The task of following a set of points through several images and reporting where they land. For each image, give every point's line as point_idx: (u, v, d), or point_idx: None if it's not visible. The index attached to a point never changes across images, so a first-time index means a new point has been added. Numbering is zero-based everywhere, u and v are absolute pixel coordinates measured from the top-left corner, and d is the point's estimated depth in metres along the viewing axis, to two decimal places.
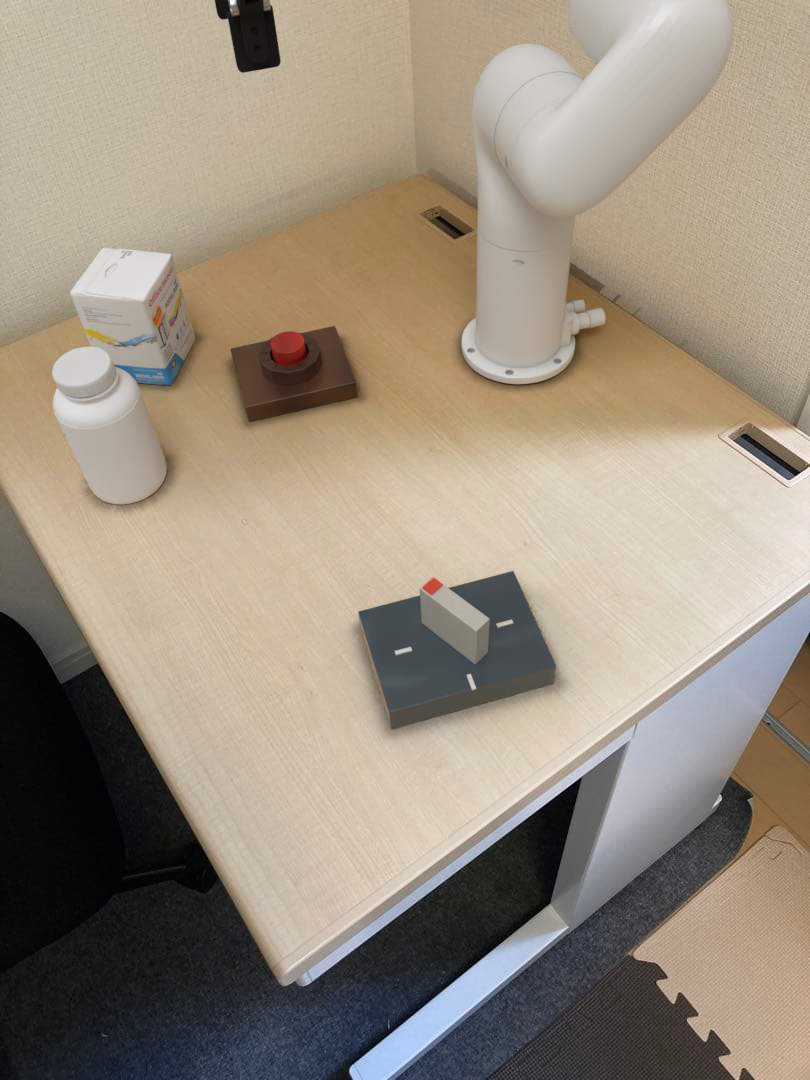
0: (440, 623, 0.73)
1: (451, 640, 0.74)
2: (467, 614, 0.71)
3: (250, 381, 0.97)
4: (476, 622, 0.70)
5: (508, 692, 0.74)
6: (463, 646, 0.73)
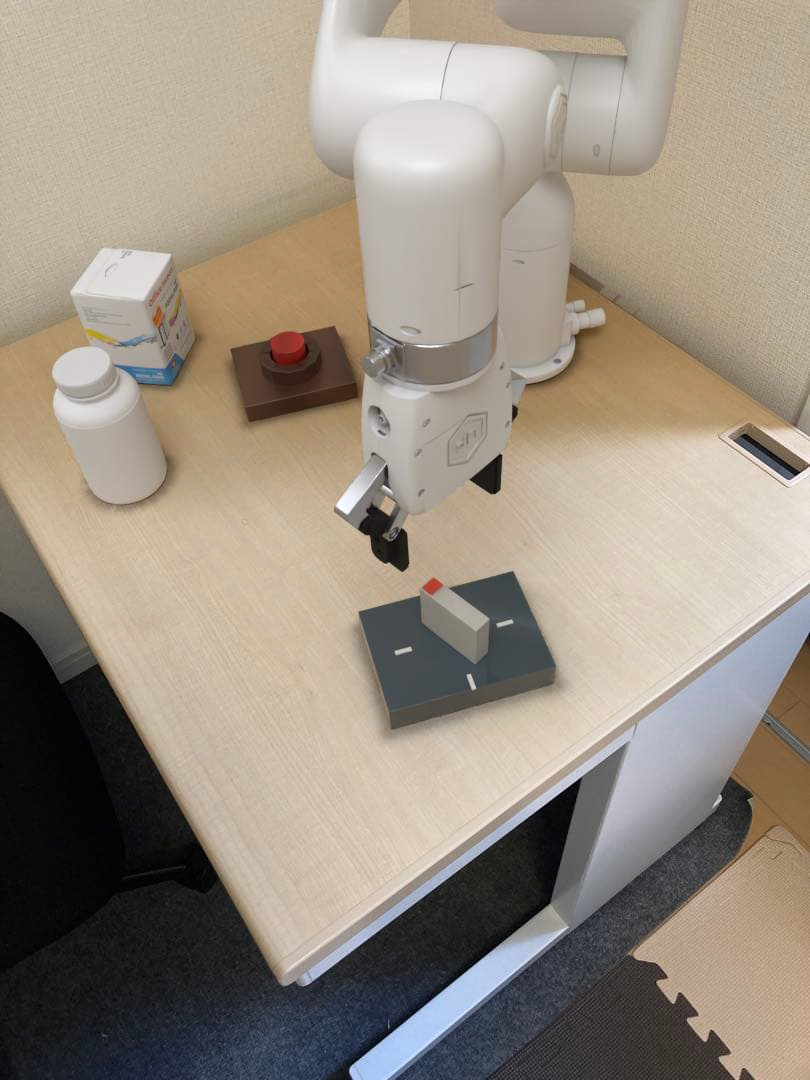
0: (440, 623, 0.73)
1: (451, 640, 0.74)
2: (467, 614, 0.71)
3: (250, 381, 0.97)
4: (476, 622, 0.70)
5: (508, 692, 0.74)
6: (463, 646, 0.73)
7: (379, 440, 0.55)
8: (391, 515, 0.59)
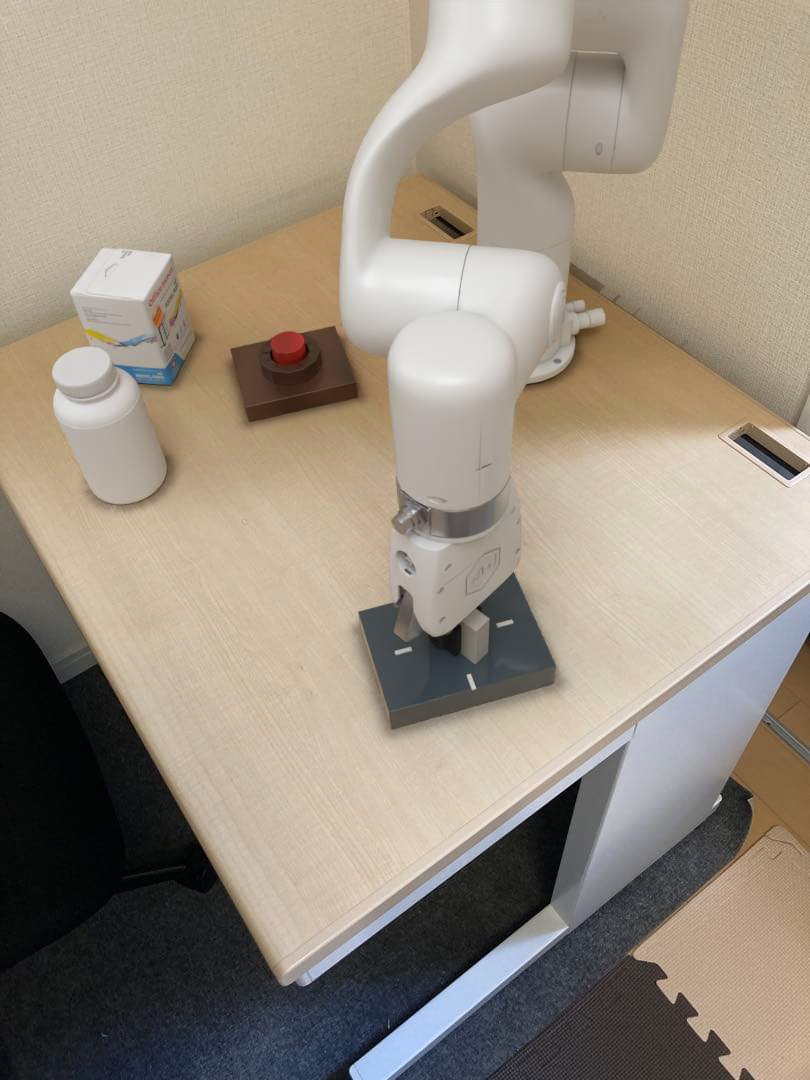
0: None
1: None
2: None
3: (250, 381, 0.97)
4: (476, 622, 0.70)
5: (508, 692, 0.74)
6: (463, 646, 0.73)
7: (405, 578, 0.62)
8: None
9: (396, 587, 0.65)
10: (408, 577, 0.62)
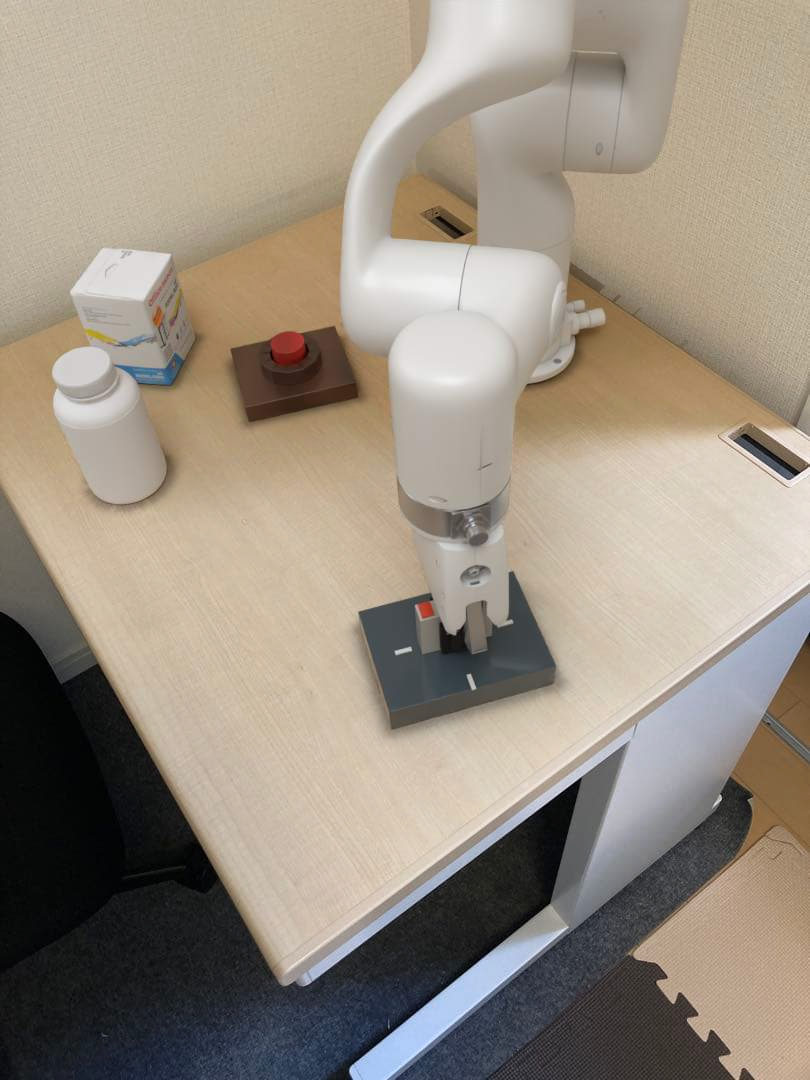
0: None
1: None
2: None
3: (250, 381, 0.97)
4: None
5: (508, 692, 0.74)
6: None
7: (477, 589, 0.62)
8: None
9: (463, 610, 0.63)
10: (481, 585, 0.61)
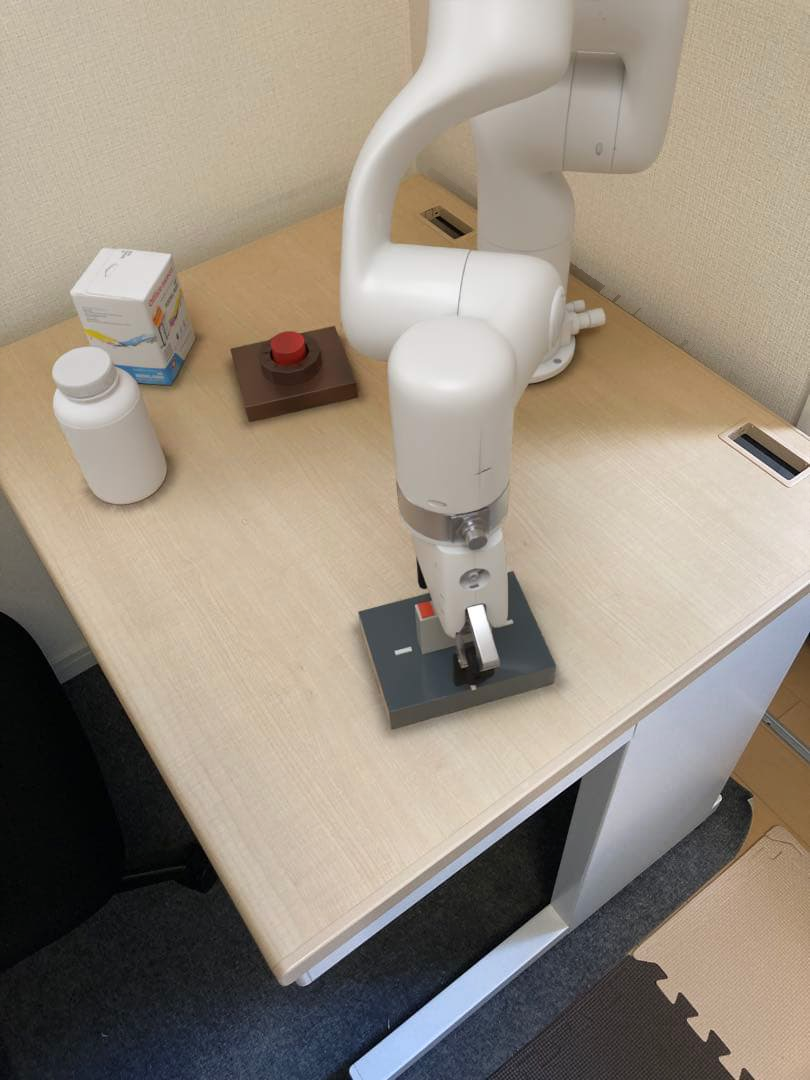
0: None
1: None
2: None
3: (250, 381, 0.97)
4: None
5: (508, 692, 0.74)
6: None
7: (476, 592, 0.62)
8: None
9: (462, 613, 0.63)
10: (480, 589, 0.62)
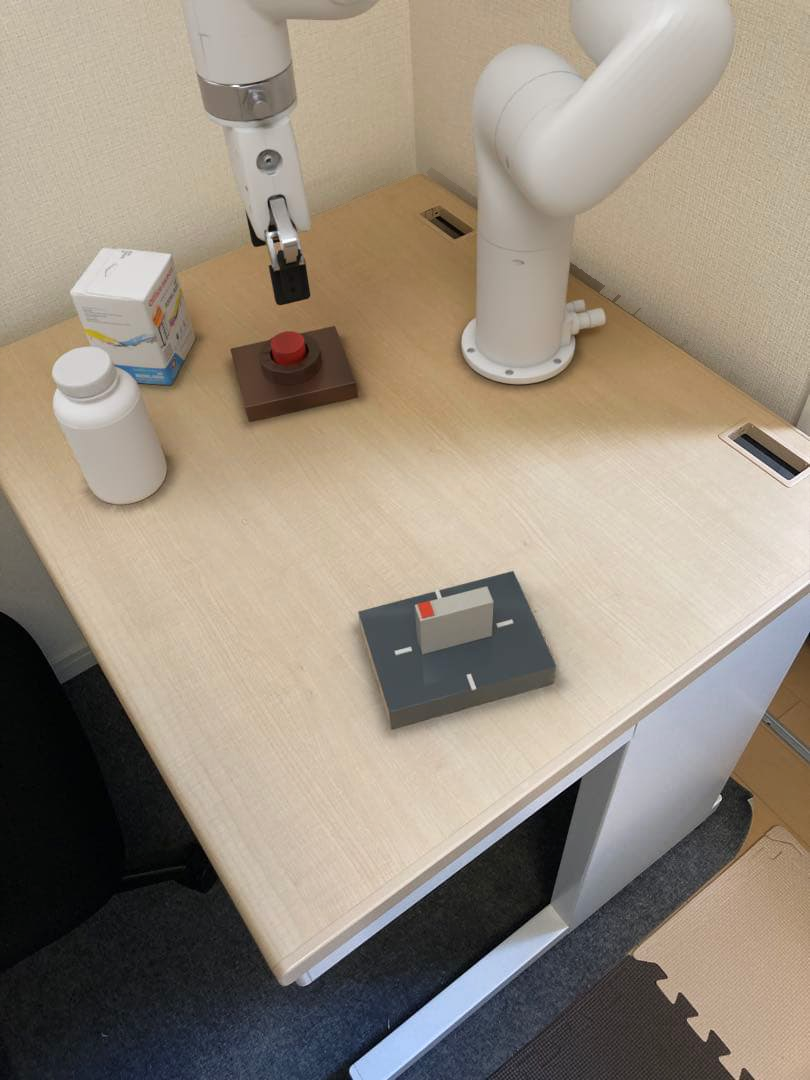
0: (448, 633, 0.73)
1: (462, 637, 0.74)
2: (472, 599, 0.71)
3: (250, 381, 0.97)
4: (484, 596, 0.72)
5: (508, 692, 0.74)
6: (476, 631, 0.74)
7: (273, 179, 0.73)
8: None
9: (265, 205, 0.75)
10: (276, 175, 0.73)
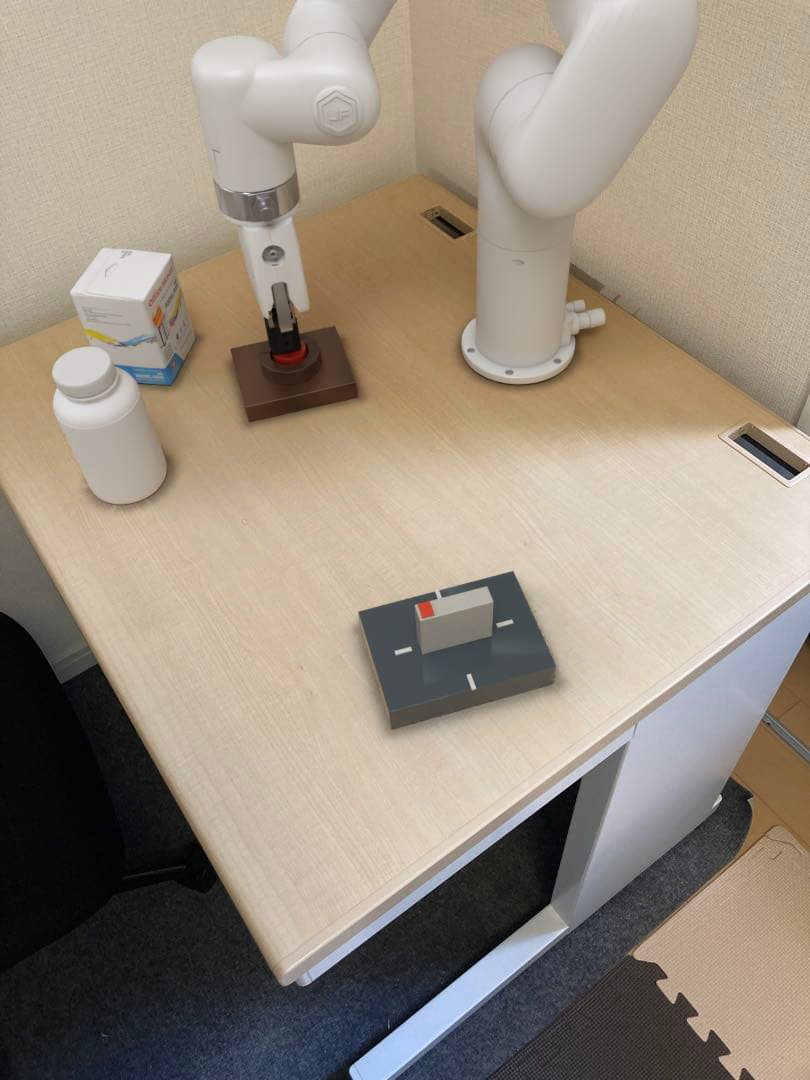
0: (448, 633, 0.73)
1: (462, 637, 0.74)
2: (472, 599, 0.71)
3: (250, 381, 0.97)
4: (484, 596, 0.72)
5: (508, 692, 0.74)
6: (476, 631, 0.74)
7: (277, 269, 0.84)
8: None
9: (269, 290, 0.85)
10: (279, 266, 0.83)
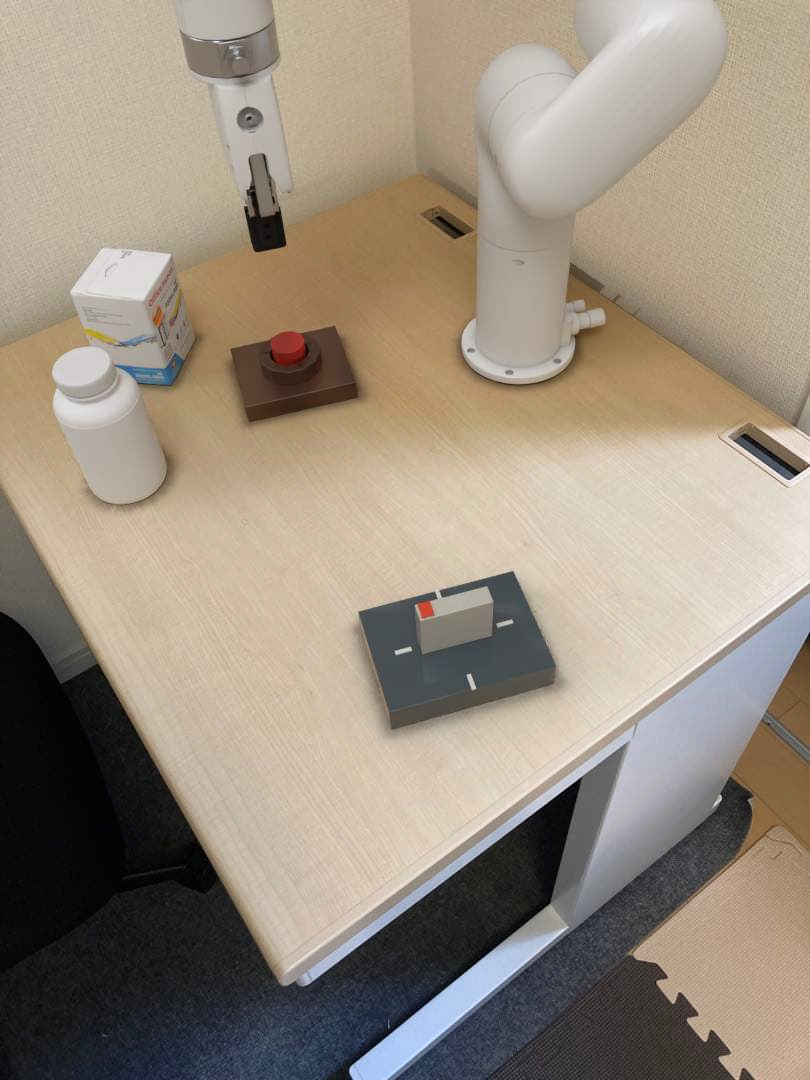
0: (448, 633, 0.73)
1: (462, 637, 0.74)
2: (472, 599, 0.71)
3: (250, 381, 0.97)
4: (484, 596, 0.72)
5: (508, 692, 0.74)
6: (476, 631, 0.74)
7: (254, 137, 0.74)
8: None
9: (247, 164, 0.75)
10: (257, 133, 0.74)
